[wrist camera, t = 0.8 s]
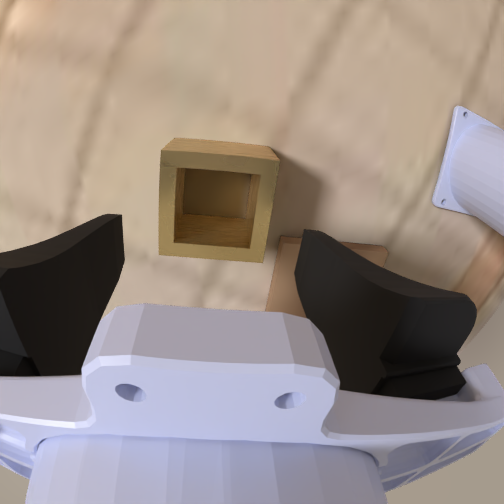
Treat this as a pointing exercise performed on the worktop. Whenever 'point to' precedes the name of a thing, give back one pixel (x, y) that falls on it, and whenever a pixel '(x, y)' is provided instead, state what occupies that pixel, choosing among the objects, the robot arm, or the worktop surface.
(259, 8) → the worktop surface
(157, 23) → the worktop surface
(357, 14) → the worktop surface
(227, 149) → the collar
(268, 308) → the shaft block
